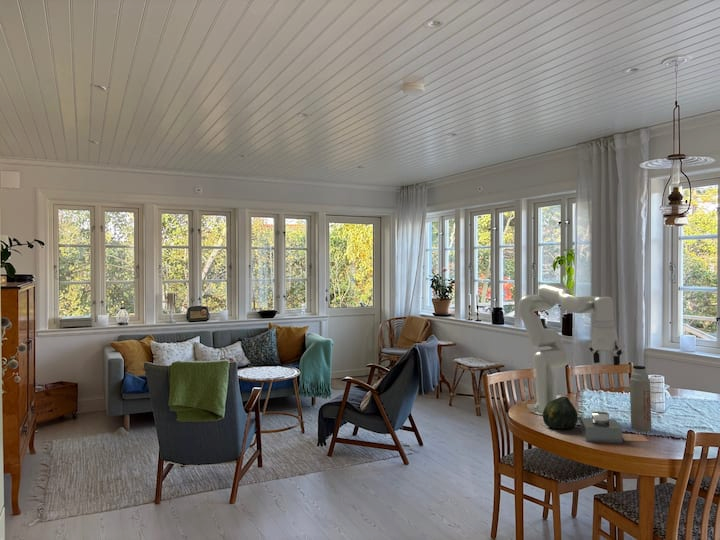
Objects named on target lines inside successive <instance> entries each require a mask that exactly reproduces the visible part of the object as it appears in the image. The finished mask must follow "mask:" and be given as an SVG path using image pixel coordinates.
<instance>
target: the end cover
mask: <svg viewBox="0 0 720 540" xmlns="http://www.w3.org/2000/svg"><path fill="white" fill-rule="evenodd" d="M591 418H592V423H594V425H608V424H609V419H610V413H609V412H608V411H607V412H606V411H600V410H595V411H591Z"/></svg>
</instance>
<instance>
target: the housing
mask: <svg viewBox="0 0 720 540" xmlns="http://www.w3.org/2000/svg"><path fill="white" fill-rule="evenodd" d="M580 432H582V433H581V435H582V437H583V439H584V440H585V442H592V443H609V444H610V443H611V444H623V438H622V434H623V428H622V427H621V425H620V424H619V423H618V421H617V420H616V419H613V418H609V424H608V425H594V423H592V417H590V418H589V417H580Z"/></svg>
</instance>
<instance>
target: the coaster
mask: <svg viewBox="0 0 720 540" xmlns="http://www.w3.org/2000/svg"><path fill="white" fill-rule="evenodd" d="M622 440H623V442H624V441H625V442H638V443H639V442H641V443H649V440H648V439H647V438H646V437H645V435H644V434H636V433H635V434H633V433H632V434H631V433H622Z"/></svg>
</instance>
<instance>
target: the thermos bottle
mask: <svg viewBox="0 0 720 540" xmlns="http://www.w3.org/2000/svg"><path fill="white" fill-rule="evenodd" d="M632 370H633V371H632V372H631V373H630V376H631V377H630V378H629V399H630V400H629V402H630V403H629V404H630V428H632V429H631V430H633V429H634V430H633V431H635V430H637V431H636V432H640V431H644V432H643V433H646V432H647V431H649V432H651V431H652V411H651V408H652V405H651V401H652V400H651V380H650V378H649V374H648V373H647V371H646V366H643V365H633V366H632ZM647 433H648V432H647Z"/></svg>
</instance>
